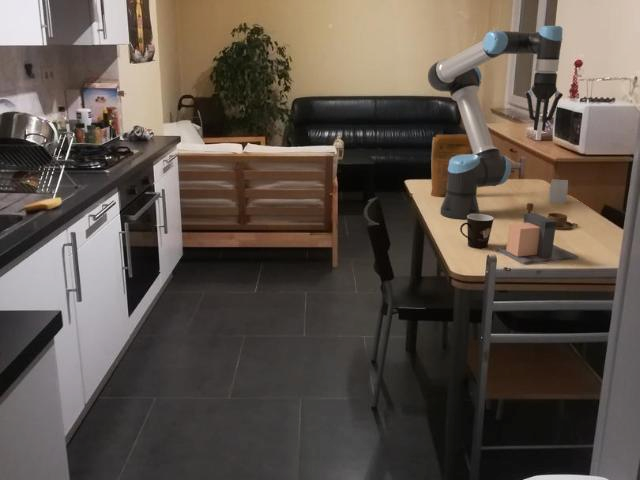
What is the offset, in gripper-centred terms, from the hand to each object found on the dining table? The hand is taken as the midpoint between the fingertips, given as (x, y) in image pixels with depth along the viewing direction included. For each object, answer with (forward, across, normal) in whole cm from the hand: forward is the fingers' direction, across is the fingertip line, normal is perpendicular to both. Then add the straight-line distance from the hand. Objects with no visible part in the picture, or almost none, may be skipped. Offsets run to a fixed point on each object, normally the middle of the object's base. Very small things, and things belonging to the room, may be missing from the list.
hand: (538, 139), depth 228 cm
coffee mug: (+33, +21, +31) cm, 50 cm away
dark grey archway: (+31, +1, +36) cm, 48 cm away
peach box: (+31, +5, +38) cm, 49 cm away
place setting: (+33, -10, -7) cm, 35 cm away
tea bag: (+33, -17, -43) cm, 57 cm away
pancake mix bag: (+33, +29, -41) cm, 60 cm away
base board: (+32, +1, +36) cm, 48 cm away
